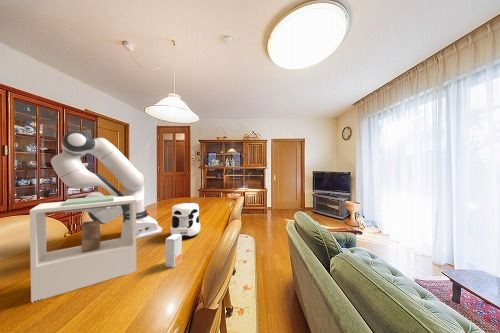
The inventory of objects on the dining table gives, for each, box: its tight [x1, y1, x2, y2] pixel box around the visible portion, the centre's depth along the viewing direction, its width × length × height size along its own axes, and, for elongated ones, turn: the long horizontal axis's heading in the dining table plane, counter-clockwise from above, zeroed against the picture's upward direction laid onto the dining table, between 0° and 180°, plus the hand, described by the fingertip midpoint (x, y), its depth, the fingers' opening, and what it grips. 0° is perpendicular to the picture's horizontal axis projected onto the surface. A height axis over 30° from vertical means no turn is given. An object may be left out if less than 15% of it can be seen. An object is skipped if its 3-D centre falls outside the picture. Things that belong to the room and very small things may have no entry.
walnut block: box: [81, 220, 101, 253], centre depth 72 cm, size 5×5×10 cm
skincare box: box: [164, 234, 183, 268], centre depth 82 cm, size 6×4×12 cm
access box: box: [29, 195, 137, 303], centre depth 72 cm, size 28×12×30 cm, turn 127°
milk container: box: [170, 202, 201, 239], centre depth 115 cm, size 17×17×18 cm
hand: (91, 208), depth 82 cm, fingers open, 8 cm apart
